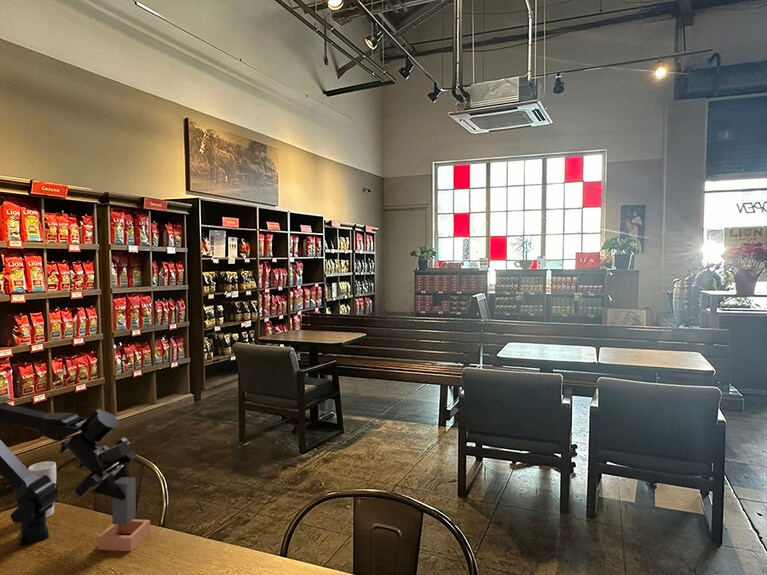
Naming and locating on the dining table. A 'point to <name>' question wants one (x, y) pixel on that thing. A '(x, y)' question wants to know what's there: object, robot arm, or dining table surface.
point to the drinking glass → (45, 469)
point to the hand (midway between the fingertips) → (129, 494)
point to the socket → (121, 542)
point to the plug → (125, 502)
